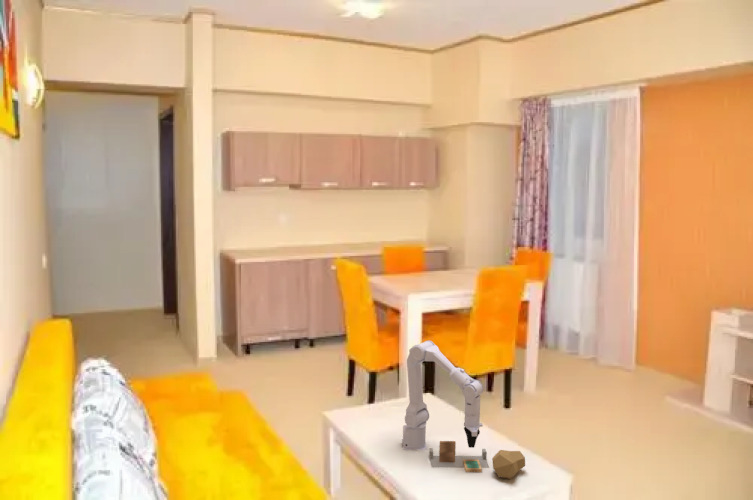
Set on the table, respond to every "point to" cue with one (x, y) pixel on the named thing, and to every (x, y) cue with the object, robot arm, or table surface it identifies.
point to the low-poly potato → (508, 463)
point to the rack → (457, 460)
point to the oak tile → (472, 465)
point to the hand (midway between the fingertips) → (471, 446)
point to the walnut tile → (447, 451)
